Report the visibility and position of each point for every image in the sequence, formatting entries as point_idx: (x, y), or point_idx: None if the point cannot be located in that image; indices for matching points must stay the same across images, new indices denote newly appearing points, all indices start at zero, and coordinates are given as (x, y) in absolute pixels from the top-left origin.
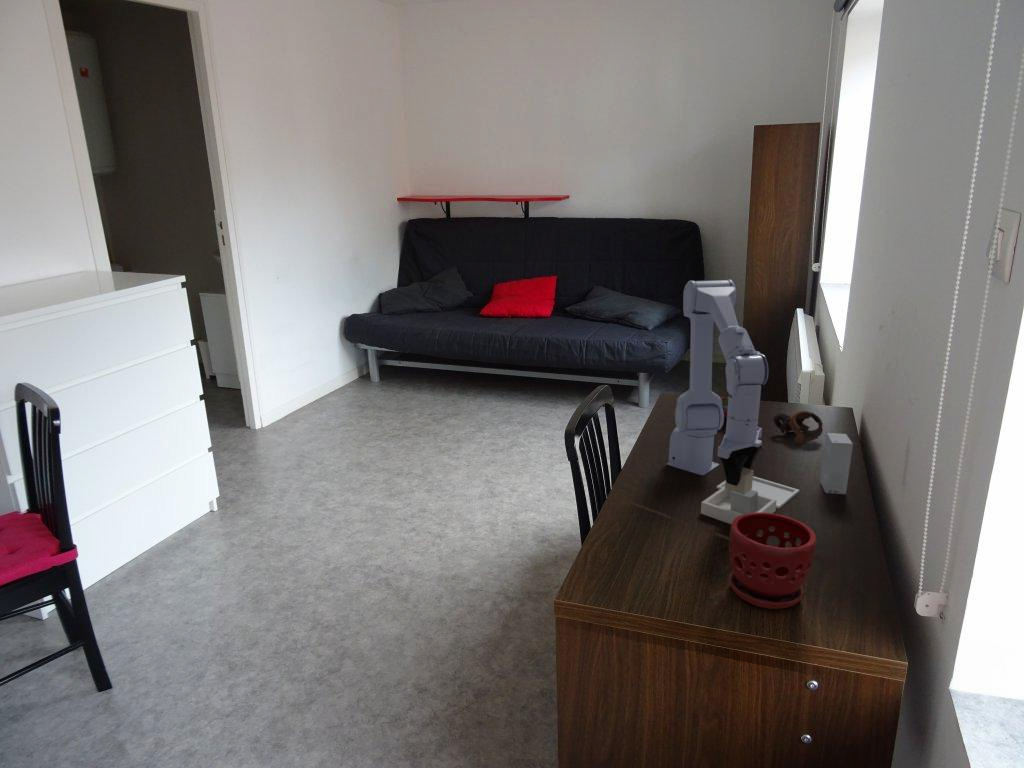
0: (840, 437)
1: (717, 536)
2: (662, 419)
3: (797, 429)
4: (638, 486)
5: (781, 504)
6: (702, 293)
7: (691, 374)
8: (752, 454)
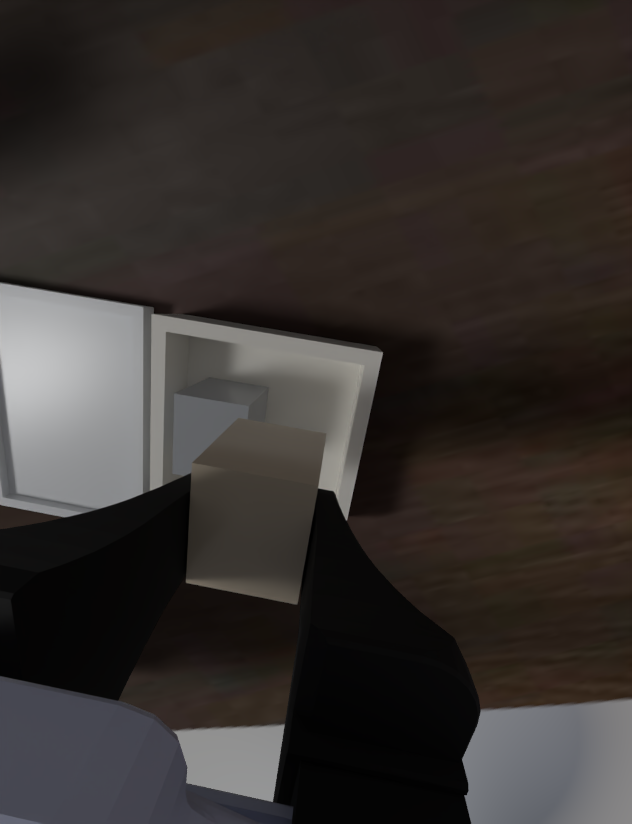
0: None
1: (451, 436)
2: None
3: None
4: (264, 692)
5: (124, 304)
6: None
7: None
8: (103, 565)
